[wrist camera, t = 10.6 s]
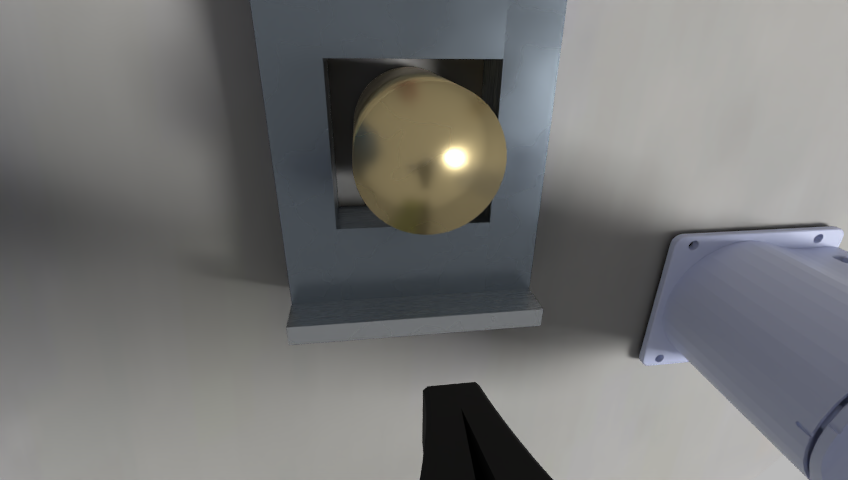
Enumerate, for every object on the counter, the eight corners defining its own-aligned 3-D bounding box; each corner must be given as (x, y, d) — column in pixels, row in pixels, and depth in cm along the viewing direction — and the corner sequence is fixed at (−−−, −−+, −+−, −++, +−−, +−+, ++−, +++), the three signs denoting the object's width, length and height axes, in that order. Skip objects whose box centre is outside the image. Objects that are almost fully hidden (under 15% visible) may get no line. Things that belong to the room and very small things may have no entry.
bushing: (470, 74, 17) (521, 91, 12) (453, 181, 19) (490, 238, 14) (357, 59, 16) (357, 71, 11) (350, 173, 18) (347, 230, 13)
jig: (547, -66, 16) (604, -96, 12) (510, 276, 21) (540, 325, 18) (254, -79, 14) (219, -117, 11) (300, 289, 20) (288, 345, 17)
